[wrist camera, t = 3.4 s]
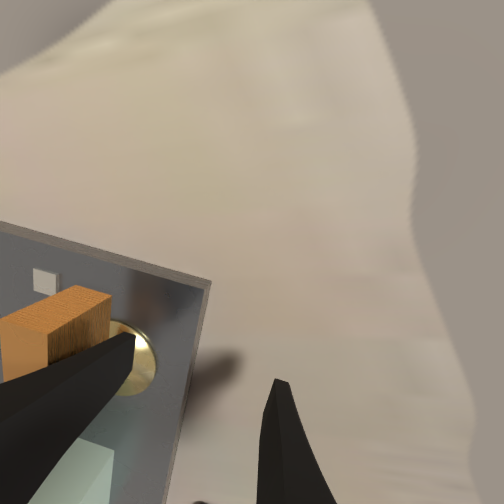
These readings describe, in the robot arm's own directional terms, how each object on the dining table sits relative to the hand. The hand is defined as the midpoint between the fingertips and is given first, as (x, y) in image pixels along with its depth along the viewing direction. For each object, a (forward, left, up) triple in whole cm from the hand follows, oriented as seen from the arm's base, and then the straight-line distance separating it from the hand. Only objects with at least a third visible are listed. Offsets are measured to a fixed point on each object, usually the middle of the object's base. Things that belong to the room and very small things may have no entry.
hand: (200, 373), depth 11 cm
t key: (+6, +3, -2) cm, 7 cm away
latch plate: (+9, +8, -3) cm, 12 cm away
